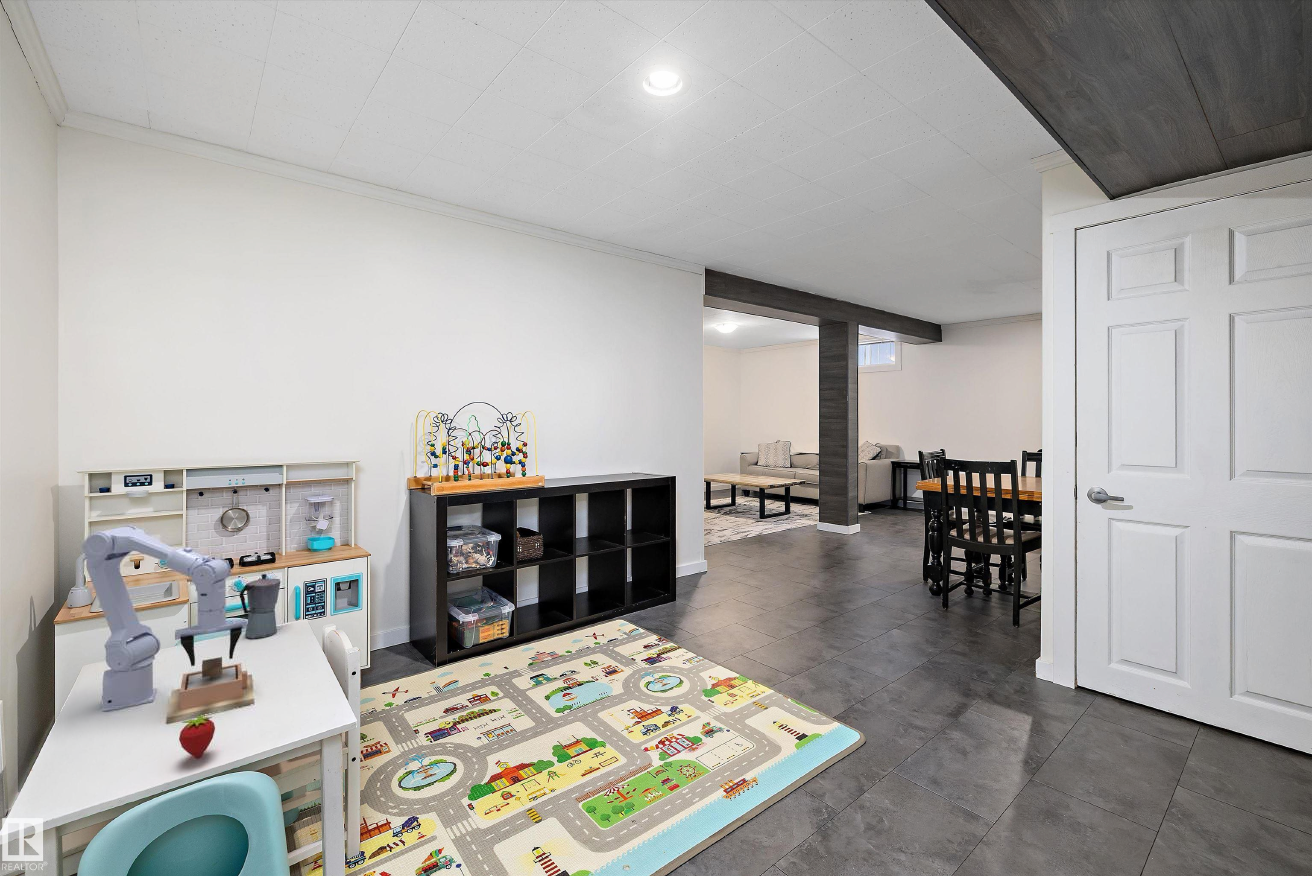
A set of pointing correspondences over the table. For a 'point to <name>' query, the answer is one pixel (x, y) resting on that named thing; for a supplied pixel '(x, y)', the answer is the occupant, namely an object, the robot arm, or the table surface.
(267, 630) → the moka pot
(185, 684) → the shallow wooden crate
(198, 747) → the strawberry
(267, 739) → the table surface
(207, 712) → the light wood rectangular frame
